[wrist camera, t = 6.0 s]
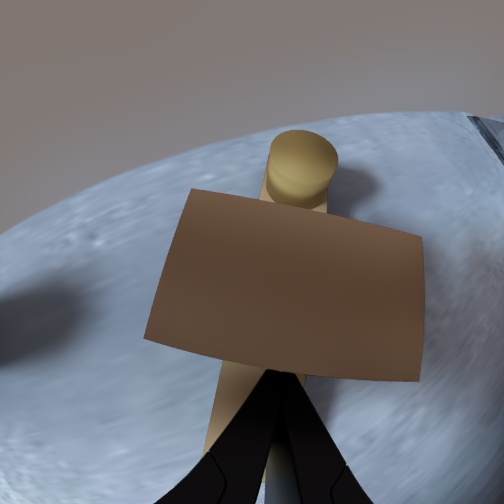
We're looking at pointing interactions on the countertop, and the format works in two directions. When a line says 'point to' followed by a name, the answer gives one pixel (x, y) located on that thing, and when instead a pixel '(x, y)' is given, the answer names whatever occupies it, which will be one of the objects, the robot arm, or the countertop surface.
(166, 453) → the countertop surface
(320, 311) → the rider
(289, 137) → the beam
